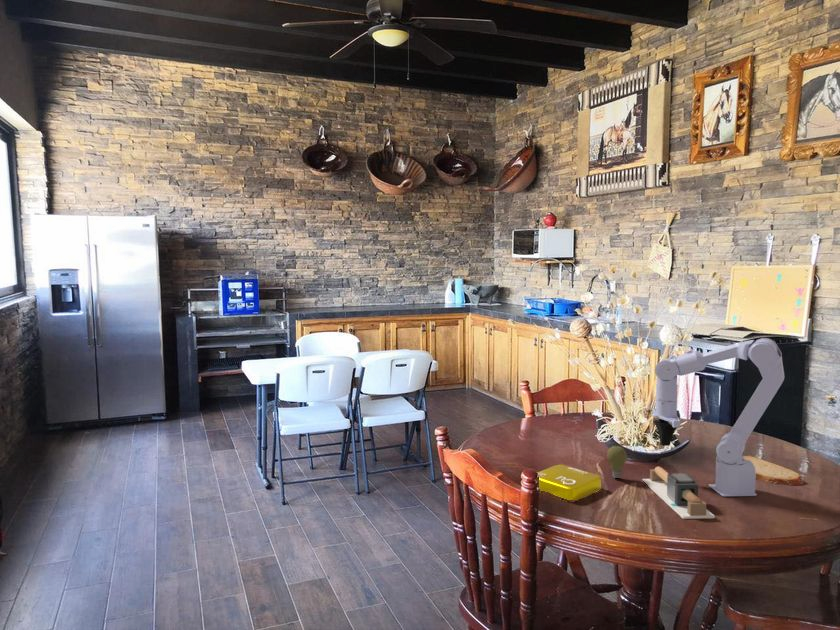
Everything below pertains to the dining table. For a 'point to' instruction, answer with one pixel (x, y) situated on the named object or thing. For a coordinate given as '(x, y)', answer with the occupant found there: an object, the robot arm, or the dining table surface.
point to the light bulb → (616, 460)
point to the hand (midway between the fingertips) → (665, 445)
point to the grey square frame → (684, 486)
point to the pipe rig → (694, 506)
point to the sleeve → (677, 479)
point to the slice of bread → (774, 472)
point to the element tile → (568, 482)
